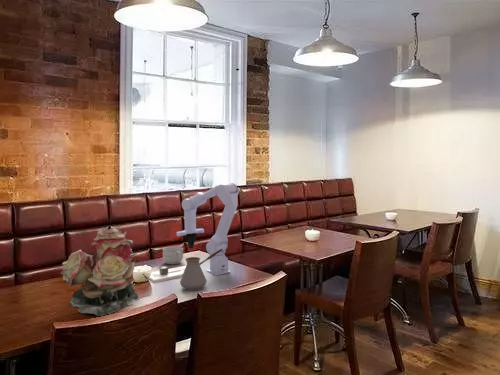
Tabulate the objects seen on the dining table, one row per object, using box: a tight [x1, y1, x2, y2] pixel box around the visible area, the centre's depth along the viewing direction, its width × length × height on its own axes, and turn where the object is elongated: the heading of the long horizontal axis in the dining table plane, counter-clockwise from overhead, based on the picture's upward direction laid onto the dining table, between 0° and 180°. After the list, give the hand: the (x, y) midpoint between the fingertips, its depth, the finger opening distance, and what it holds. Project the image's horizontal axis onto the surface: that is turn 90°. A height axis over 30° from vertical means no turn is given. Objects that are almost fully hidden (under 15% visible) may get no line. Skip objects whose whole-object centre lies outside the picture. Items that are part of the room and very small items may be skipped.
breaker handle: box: [159, 266, 169, 275], centre depth 194 cm, size 3×3×3 cm
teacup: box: [162, 246, 184, 265], centre depth 215 cm, size 14×11×8 cm
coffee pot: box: [179, 249, 225, 292], centre depth 180 cm, size 21×12×15 cm, turn 127°
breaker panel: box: [149, 265, 186, 283], centre depth 196 cm, size 12×22×1 cm, turn 125°
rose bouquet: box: [60, 227, 140, 317], centre depth 159 cm, size 26×29×30 cm
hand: (190, 248), depth 210 cm, fingers closed
